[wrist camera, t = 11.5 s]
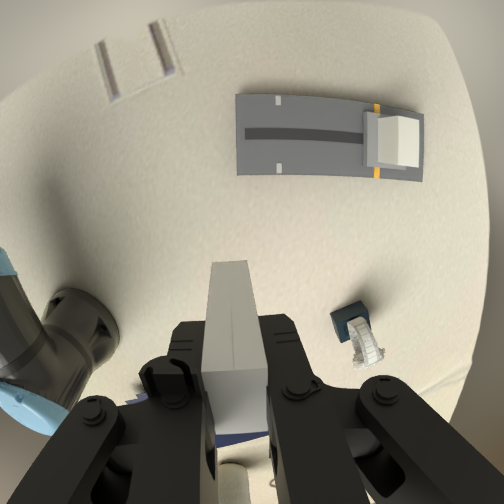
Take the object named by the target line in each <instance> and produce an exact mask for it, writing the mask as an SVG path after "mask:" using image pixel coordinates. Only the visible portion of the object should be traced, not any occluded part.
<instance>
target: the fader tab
mask: <svg viewBox="0 0 504 504" xmlns="http://www.w3.org/2000/svg"><path fill="white" fill-rule="evenodd" d="M363 166H367V167H379V168H390V169H399V170H406V166H410V167H417V168H419V120H416V119H412V118H407V117H403V116H390V115H385V114H379V113H373V112H363Z"/></svg>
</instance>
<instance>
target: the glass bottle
mask: <svg viewBox="0 0 504 504" xmlns="http://www.w3.org/2000/svg"><path fill="white" fill-rule="evenodd" d="M218 498H219V504H251V501H250V493H249V480H248V473H247V470H246V469H245V468H244V467H243V466H241V465H238V464H233V463H227V464H222V465H220V466H218Z"/></svg>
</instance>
